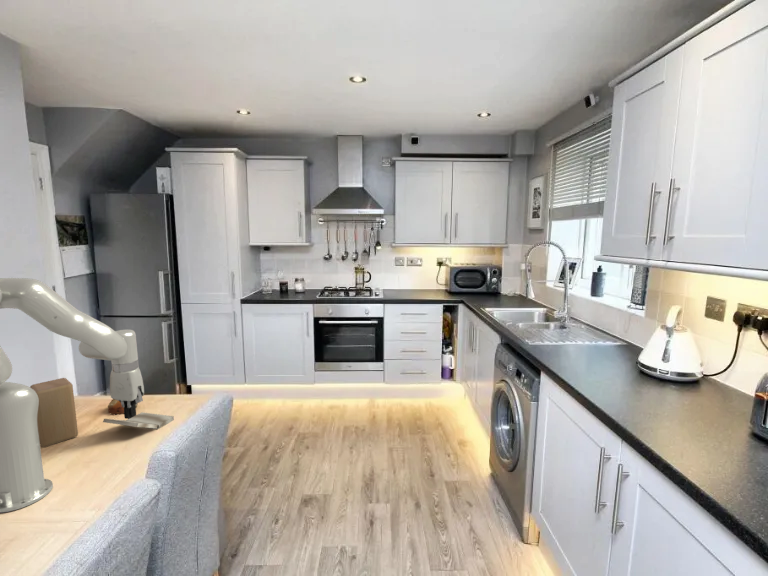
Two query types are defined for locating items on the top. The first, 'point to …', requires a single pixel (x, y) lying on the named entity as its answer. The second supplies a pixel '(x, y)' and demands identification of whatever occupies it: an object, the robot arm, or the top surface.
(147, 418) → the laid board
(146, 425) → the loose plank
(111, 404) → the blueberry muffin
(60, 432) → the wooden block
